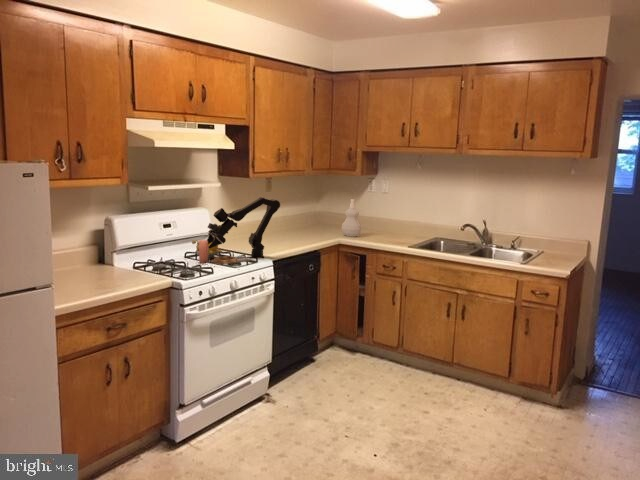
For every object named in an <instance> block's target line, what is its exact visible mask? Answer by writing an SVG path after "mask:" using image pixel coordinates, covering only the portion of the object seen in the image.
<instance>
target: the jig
mask: <svg viewBox="0 0 640 480" xmlns="http://www.w3.org/2000/svg"><path fill="white" fill-rule="evenodd" d="M241 257H242V258H244V257H243V256H241ZM249 261H252V260H251V259H249V260H247V261H246V262H249ZM210 262H211V263H213V264H217V265H219V266H221V265H227V264H235V263H242V262H245V261H239V262H237V259H236V258H234V256H229V255H225V256H218V257H213V260H210Z"/></svg>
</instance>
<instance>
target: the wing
mask: <svg viewBox="0 0 640 480" xmlns="http://www.w3.org/2000/svg"><path fill="white" fill-rule="evenodd" d="M247 260H250V257H249V258H248V257H243V258H241V259H237V262H236V263H240V262H239V261H244V262H248V261H247Z"/></svg>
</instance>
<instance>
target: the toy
mask: <svg viewBox="0 0 640 480" xmlns="http://www.w3.org/2000/svg"><path fill="white" fill-rule="evenodd" d="M199 241H200V240H197V239H192V241H191V243H192V245H194V244H196V251H197V252H198V253H199ZM211 243H212V242H211ZM211 243H210V244H211ZM210 244H208V255H214V254H219V253H222V252H223V250H222V249H219V245H217V246H215V247H212V248H209V246H210Z"/></svg>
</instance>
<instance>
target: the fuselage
mask: <svg viewBox="0 0 640 480" xmlns="http://www.w3.org/2000/svg"><path fill="white" fill-rule="evenodd" d="M198 241H199V252H198V257H199V258H198V261H199V264H208V261H209V254H208V240H207V239H201V240H198Z"/></svg>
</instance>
